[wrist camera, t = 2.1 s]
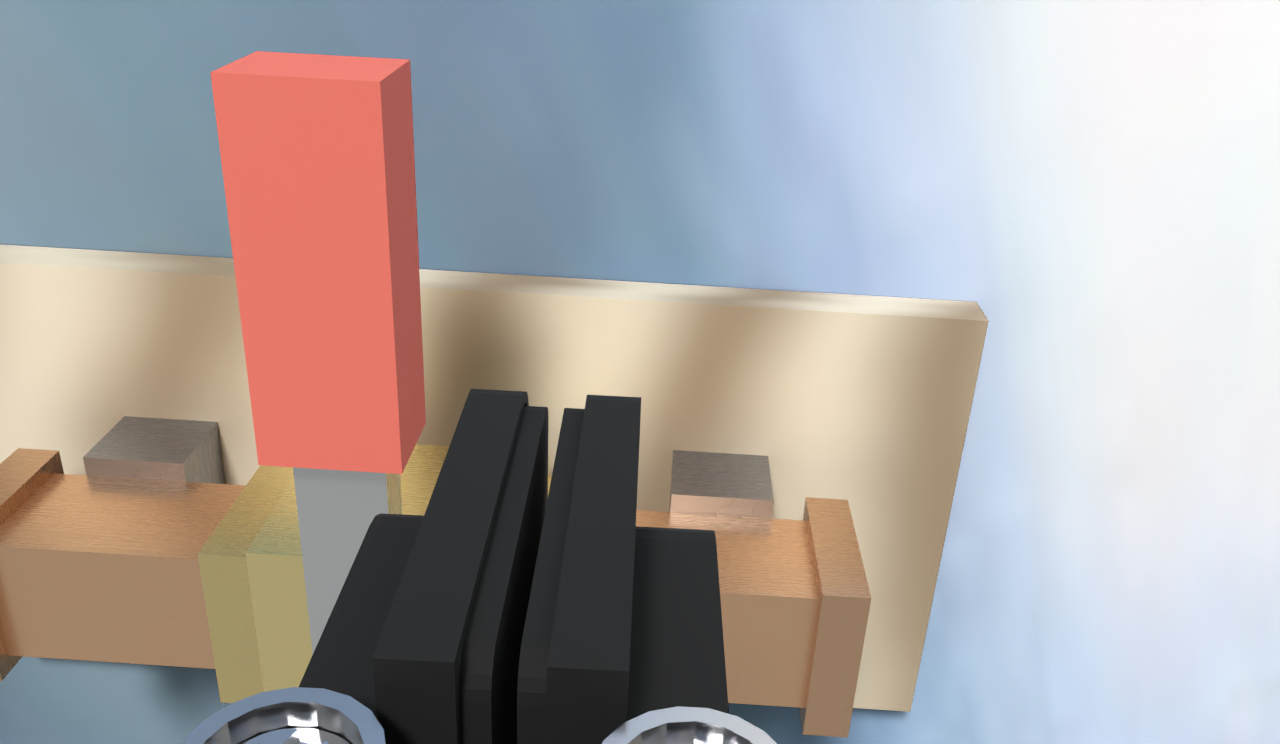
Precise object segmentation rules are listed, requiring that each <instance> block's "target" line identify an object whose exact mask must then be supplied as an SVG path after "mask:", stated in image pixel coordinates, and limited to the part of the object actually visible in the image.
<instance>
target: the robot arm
mask: <svg viewBox="0 0 1280 744" xmlns="http://www.w3.org/2000/svg"><path fill="white" fill-rule="evenodd" d="M640 419H641V397H623V396H604V395H587V397H586V403H585V409H577V408H564V412H563V418H562V423H561V428H560V434H559V439H558V445H557V450H556V456H555V461H554V467H553V472H552V478H551V483H550V489H549V494H548V424H549V423H548V407H538V406H529V401H528V394H527V392H525V391H505V390H486V389H471V390H470V392H469V394H468V397H467V399H466V402H465V405H464V408H463V410H462V413H461V416H460V419H459V421H458V424H457V427H456V430H455V432H454V435H453V438H452V441H451V443H450V446H449V449H448V451H447V454H446V457H445V460H444V462H443V465H442V468H441V471H440V473H439V476H438V479H437V482H436V484H435V487H434V490H433V493H432V495H431V498H430V501H429V504H428V506H427V509H426V512H425V515H424V516H421V515H402V514H382V513H380V514H378V515H376V516H375V517H374V519H373V521H372V522H371V524H370V526H369V528H368V530H367V533H366V535H365V537H364V539H363V542H362V544H361V546H360V549H359V551H358V553H357V555H356V558H355V560H354V562H353V564H352V567H351V569H350V571H349V574H348V576H347V578H346V580H345V583H344V585H343V587H342V589H341V592H340V594H339V596H338V599H337V601H336V603H335V605H334V608H333V610H332V612H331V614H330V617H329V619H328V621H327V624H326V626H325V628H324V630H323V633H322V635H321V637H320V639H319V642H318V644H317V646H316V649H315V651H314V653H313V655H312V658H311V660H310V662H309V664H308V667H307V669H306V671H305V673H304V676H303V678H302V680H301V683H300V685H299V687H291V688H285V689H279V690H272V691H266V692H261V693H258V694H255V695H253V696H250V697H247V698H245V699H242V700H239V701H237V702H234V703H231V704H229V705H228V706H226V707H224V708H223V709H221V710H220V711H218V712H216V713H215V714H213V715H212V716H210V717H208V718H207V719H205V720H203V721H202V722H201V723H200V724H199V725H198V726H197V727H196V728H195V729H194V730H193V731H192V732H191V733H190V734H189V735H188V736H187V737H186V738H185V739H184V740H183V741H182V742H181V743H180V744H777V743H776V742H775V741H774V740H773V739H772V738H771V737H770V736H769V735H768V734H767V733H765V732H764V731H763V730H761V729H759V728H758V727H756V726H754V725H752V724H750V723H749V722H747V721H745V720H743V719H741V718H740V717H738V716H734V715H731V714H729V708H728V695H727V681H726V667H725V654H724V640H723V627H722V613H721V599H720V586H719V572H718V559H717V545H716V536H715V532H714V530H697V529H678V528H658V527H638V526H636V509H637V486H638V464H639V441H640Z"/></svg>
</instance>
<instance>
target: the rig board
mask: <svg viewBox="0 0 1280 744" xmlns="http://www.w3.org/2000/svg"><path fill="white" fill-rule="evenodd" d="M419 275H420V298H421V320H422V343H423V366H424V389H425V411H426V424H425V426H424V428H423V430H422V433H421V435H420V437H419V439H418V441H417V443H416V444H420V445H436V446H450V443H451V441H452V438H453V435H454V432H455V430H456V427H457V424H458V421H459V419H460V416H461V413H462V410H463V408H464V405H465V402H466V399H467V397H468V394H469V392H470V390H471V389H486V390H505V391H525V392H527V394H528V401H529V406H538V407H548V423H549V424H548V452H549V475H551V476H552V472H553V467H554V461H555V456H556V450H557V445H558V439H559V434H560V428H561V423H562V418H563V412H564V408H577V409H585V403H586V397H587V395H604V396H623V397H641V419H640V441H639V464H638V486H637V509H636V510H644V511H660V512H669V500H670V485H671V471H672V456H673V450H682V451H698V452H714V453H730V454H746V455H763V456H768V460H769V468H770V476H771V484H772V492H773V499H774V502H773V510H772V519H788V520H803V514H804V506H805V499H806V497H811V498H827V499H843V500H848V503H849V507H850V511H851V515H852V520H853V524H854V528H855V532H856V536H857V540H858V545H859V549H860V553H861V557H862V561H863V565H864V569H865V574H866V578H867V582H868V586H869V590H870V594H871V604H870V610H869V616H868V622H867V628H866V634H865V639H864V645H863V651H862V657H861V663H860V669H859V675H858V681H857V686H856V692H855V698H854V704H853V708H862V709H877V710H892V711H908V712H910V711H911V706H912V701H913V696H914V691H915V686H916V681H917V676H918V671H919V666H920V661H921V656H922V651H923V646H924V641H925V636H926V631H927V626H928V621H929V616H930V611H931V606H932V601H933V596H934V591H935V586H936V581H937V576H938V571H939V566H940V561H941V556H942V551H943V546H944V541H945V536H946V531H947V526H948V521H949V516H950V511H951V506H952V501H953V496H954V491H955V486H956V481H957V476H958V471H959V466H960V461H961V456H962V451H963V446H964V441H965V436H966V431H967V426H968V421H969V416H970V411H971V406H972V401H973V396H974V391H975V386H976V381H977V376H978V371H979V366H980V361H981V356H982V351H983V346H984V341H985V336H986V331H987V326H988V319H987V318H986V316H985V315H984V313H983V311H982V310H981V308H980V307H979V305H978V304H977V302H968V301H951V300H934V299H917V298H900V297H883V296H866V295H849V294H832V293H815V292H798V291H781V290H764V289H747V288H730V287H713V286H696V285H679V284H662V283H645V282H628V281H611V280H594V279H577V278H560V277H543V276H526V275H509V274H492V273H475V272H458V271H441V270H424V269H419ZM124 416H130V417H147V418H163V419H179V420H195V421H211V422H218V428H219V435H220V442H221V449H222V457H223V464H224V471H225V478H226V484H230V485H247V483H248V482H249V481H250V479H251V478H252V476H253V475H254V473H255V472H256V471H257V469H258V468H259V466H260V465H258V457H257V449H256V441H255V433H254V425H253V416H252V408H251V400H250V392H249V384H248V375H247V367H246V359H245V351H244V342H243V334H242V326H241V318H240V310H239V301H238V293H237V285H236V277H235V269H234V260H233V258H220V257H203V256H186V255H169V254H152V253H135V252H118V251H101V250H84V249H67V248H50V247H33V246H16V245H0V464H1V463H2V462H3V461H4V460H5V459H6V458H8V457H9V456H10V455H11V454H12V453H13V452H14V451H16V450H17V449H18V448H25V449H41V450H57V451H59V452H60V457H61V462H62V466H63V471H64V474H71V475H86V471H85V466H84V461H83V457H84V456H85V455H86V454H87V453H88V452H89V451H90V450H91V449H92V448H93V447H94V446H95V445H96V444H97V443H98V442H99V441H100V440H101V439H102V438H103V437H104V436H105V435H106V434H107V433H108V432H109V431H110V430H111V429H112V428H113V427H114V426H115V425H116V424H117V423H118V422H119V421H120V420H121V419H122V418H123V417H124Z"/></svg>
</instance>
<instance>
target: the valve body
mask: <svg viewBox="0 0 1280 744" xmlns="http://www.w3.org/2000/svg"><path fill="white" fill-rule="evenodd" d="M448 449H449V446H436V445H420V444H416V445H415V447H414V450H413V452H412V454H411V456H410V458H409V460H408V462H407V465H406V467H405V469H404V471H403V473H402V474H400V479H401V496H402V514H403V515H421V516H424V515H425V512H426V509H427V506H428V504H429V501H430V498H431V495H432V493H433V490H434V487H435V484H436V482H437V479H438V476H439V473H440V471H441V468H442V465H443V462H444V460H445V457H446V454H447V451H448ZM83 461H84V466H85V471H86V475H71V474H64V471H63V466H62V462H61V457H60V452H59V451H57V450H41V449H25V448H18V449H17V450H16V451H14V452H13V453H12V454H11V455H10V456H9V457H8V458H6V459H5V460H4V461H3V462H2V463H1V464H0V681H2V680H3V679H4V678H5V677H6V675H7V674H8V673H9V672H10V671H11V669H12V668H13V667H14V666H15V665H16V663H17V662H18V661H19V660H20V659H21V657H22V656H26V657H41V658H56V659H71V660H86V661H101V662H116V663H132V664H147V665H162V666H177V667H192V668H207V669H216V676H217V682H218V689H219V695H220V701H221V702H222V703H234V702H237V701H239V700H242V699H245V698H247V697H250V696H253V695H255V694H258V693H261V692H266V691H272V690H279V689H285V688H291V687H299V685H300V683H301V680H302V678H303V676H304V673H305V671H306V669H307V667H308V664H309V662H310V660H311V658H312V655H313V653H312V643H311V634H310V624H309V615H308V606H307V596H306V587H305V577H304V568H303V558H302V549H301V540H300V530H299V521H298V511H297V502H296V493H295V483H294V474H293V467H280V466H264V465H260V466H259V468H258V469H257V471H256V472H255V473H254V475H253V476H252V478H251V479H250V481H249V482H248V483H247V485H230V484H226V478H225V471H224V464H223V457H222V449H221V442H220V435H219V428H218V422H211V421H195V420H179V419H163V418H147V417H130V416H124V417H123V418H122V419H121V420H120V421H119V422H118V423H117V424H116V425H115V426H114V427H113V428H112V429H111V430H110V431H109V432H108V433H107V434H106V435H105V436H104V437H103V438H102V439H101V440H100V441H99V442H98V443H97V444H96V445H95V446H94V447H93V448H92V449H91V450H90V451H89V452H88V453H87V454H86V455H85V456H84V457H83ZM551 478H552V476H551V475H549V452H548V494H549V489H550V483H551ZM773 502H774V499H773V492H772V484H771V476H770V468H769V460H768V456H763V455H746V454H730V453H714V452H698V451H682V450H673V456H672V471H671V485H670V500H669V512H660V511H644V510H636V526H638V527H658V528H678V529H697V530H714V532H715V536H716V545H717V559H718V572H719V586H720V599H721V613H722V627H723V640H724V654H725V667H726V681H727V695H728V703H737V704H752V705H767V706H782V707H797V708H799V709H800V717H801V725H802V733H803V735H818V736H833V737H848V734H849V728H850V722H851V716H852V710H853V704H854V698H855V692H856V686H857V681H858V675H859V669H860V663H861V657H862V651H863V645H864V639H865V634H866V628H867V622H868V616H869V610H870V604H871V594H870V590H869V586H868V582H867V578H866V574H865V569H864V565H863V561H862V557H861V553H860V549H859V545H858V540H857V536H856V532H855V528H854V524H853V520H852V515H851V511H850V507H849V503H848V500H843V499H827V498H811V497H806V499H805V506H804V514H803V520H788V519H772V510H773Z"/></svg>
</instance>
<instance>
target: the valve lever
mask: <svg viewBox="0 0 1280 744" xmlns="http://www.w3.org/2000/svg"><path fill="white" fill-rule="evenodd" d="M211 80H212V88H213V96H214V104H215V112H216V121H217V129H218V137H219V145H220V154H221V162H222V170H223V178H224V186H225V195H226V203H227V211H228V219H229V227H230V236H231V244H232V252H233V260H234V269H235V277H236V285H237V293H238V301H239V310H240V318H241V326H242V334H243V342H244V351H245V359H246V367H247V375H248V384H249V392H250V400H251V408H252V416H253V425H254V433H255V441H256V449H257V457H258V465H264V466H280V467H293V474H294V483H295V493H296V502H297V511H298V521H299V530H300V540H301V549H302V558H303V568H304V577H305V587H306V596H307V606H308V615H309V624H310V634H311V643H312V653H314V651H315V649H316V646H317V644H318V642H319V639H320V637H321V635H322V633H323V630H324V628H325V626H326V624H327V621H328V619H329V617H330V614H331V612H332V610H333V608H334V605H335V603H336V601H337V599H338V596H339V594H340V592H341V589H342V587H343V585H344V583H345V580H346V578H347V576H348V574H349V571H350V569H351V567H352V564H353V562H354V560H355V558H356V555H357V553H358V551H359V549H360V546H361V544H362V542H363V539H364V537H365V535H366V533H367V530H368V528H369V526H370V524H371V522H372V521H373V519H374V517H375V516H376V515H378V514H380V513H382V514H402V496H401V479H400V474H402V473H403V471H404V469H405V467H406V465H407V462H408V460H409V458H410V456H411V454H412V452H413V450H414V447H415V445H416V443H417V441H418V439H419V437H420V435H421V433H422V430H423V428H424V426H425V424H426V411H425V389H424V366H423V343H422V320H421V298H420V275H419V252H418V230H417V207H416V184H415V161H414V139H413V116H412V93H411V70H410V60H406V59H388V58H370V57H351V56H333V55H315V54H297V53H279V52H261V51H256V52H254V53H252V54H250V55H247V56H245V57H243V58H241V59H239V60H236V61H234V62H232V63H230V64H228V65H225V66H223V67H221V68H219V69H217V70H214V71H212V72H211ZM402 515H403V514H402Z"/></svg>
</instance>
